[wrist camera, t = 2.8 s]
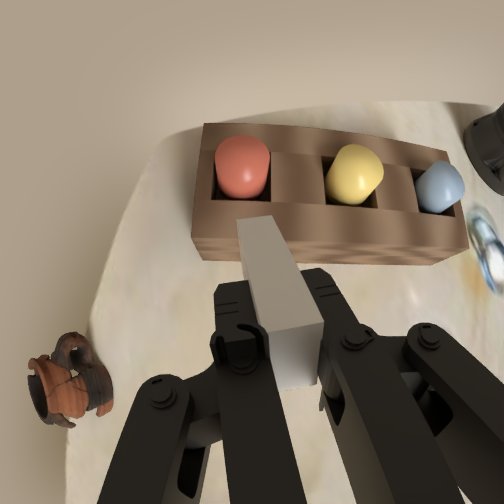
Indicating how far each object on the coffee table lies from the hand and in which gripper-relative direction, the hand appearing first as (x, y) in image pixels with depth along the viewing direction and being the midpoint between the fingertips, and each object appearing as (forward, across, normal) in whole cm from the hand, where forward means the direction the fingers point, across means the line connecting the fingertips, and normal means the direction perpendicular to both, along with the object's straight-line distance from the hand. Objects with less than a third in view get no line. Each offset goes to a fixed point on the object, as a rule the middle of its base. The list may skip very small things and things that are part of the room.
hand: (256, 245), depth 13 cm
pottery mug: (+8, -21, -19) cm, 29 cm away
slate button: (+13, +20, -4) cm, 25 cm away
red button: (+16, +1, -2) cm, 16 cm away
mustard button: (+14, +11, -3) cm, 18 cm away
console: (+19, +11, -8) cm, 23 cm away
